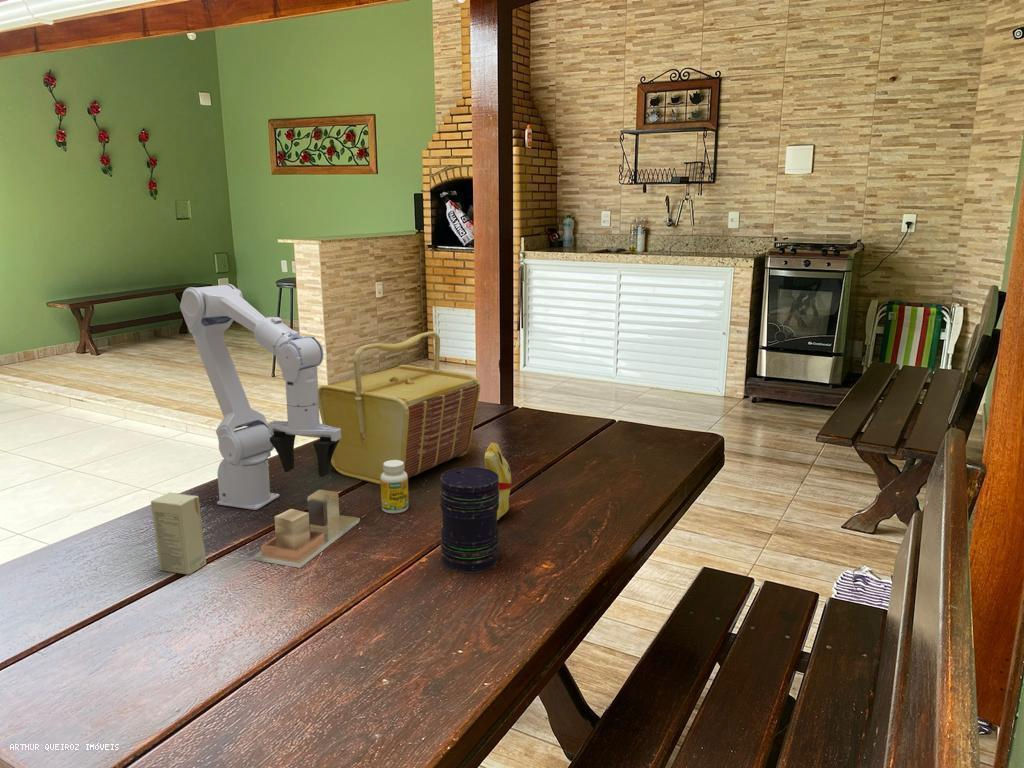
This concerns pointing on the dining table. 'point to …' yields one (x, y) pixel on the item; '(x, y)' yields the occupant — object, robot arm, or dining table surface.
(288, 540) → the block
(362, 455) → the picnic basket
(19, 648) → the dining table surface
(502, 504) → the chocolate bunny
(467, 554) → the storage jar
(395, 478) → the supplement bottle
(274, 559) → the cream holder stand
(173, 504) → the skincare box
